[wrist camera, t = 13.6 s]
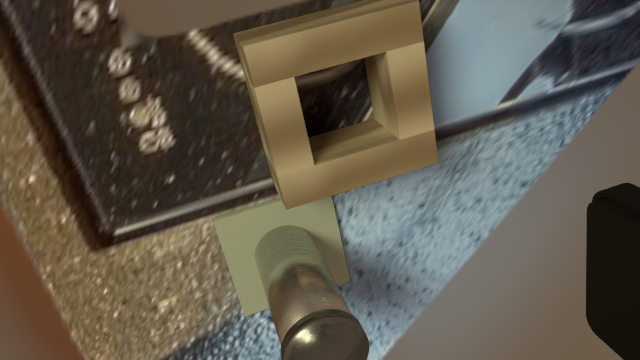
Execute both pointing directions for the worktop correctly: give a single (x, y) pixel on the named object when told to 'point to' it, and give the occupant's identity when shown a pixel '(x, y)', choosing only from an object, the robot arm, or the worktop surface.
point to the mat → (254, 222)
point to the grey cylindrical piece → (306, 299)
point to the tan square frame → (385, 90)
